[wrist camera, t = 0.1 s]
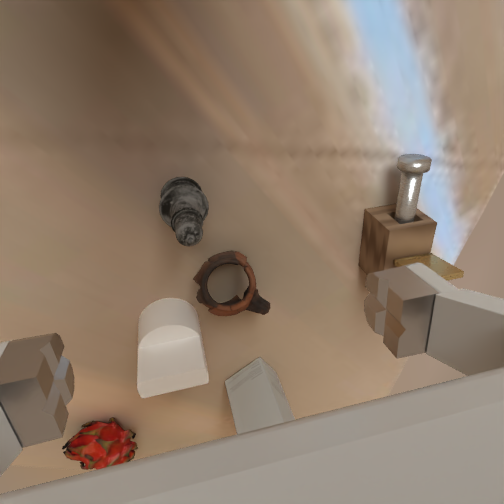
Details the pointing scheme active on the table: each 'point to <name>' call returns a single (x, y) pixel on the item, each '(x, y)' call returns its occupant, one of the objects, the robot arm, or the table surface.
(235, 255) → the brown grey sculpted ring
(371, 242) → the hitch block
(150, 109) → the table surface
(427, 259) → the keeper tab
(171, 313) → the base with upright slab
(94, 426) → the dragon fruit
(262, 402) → the skincare box
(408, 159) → the pin
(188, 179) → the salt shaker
